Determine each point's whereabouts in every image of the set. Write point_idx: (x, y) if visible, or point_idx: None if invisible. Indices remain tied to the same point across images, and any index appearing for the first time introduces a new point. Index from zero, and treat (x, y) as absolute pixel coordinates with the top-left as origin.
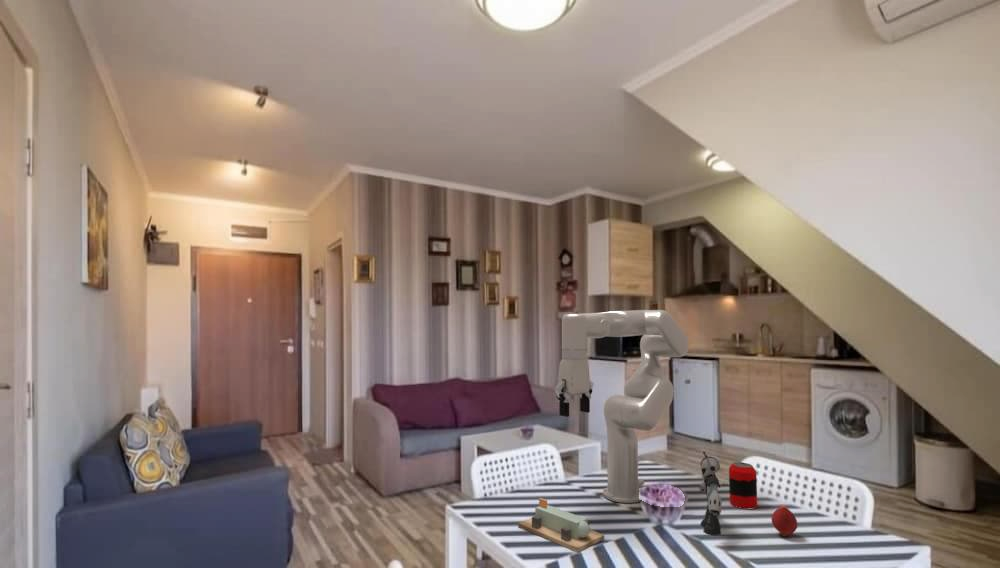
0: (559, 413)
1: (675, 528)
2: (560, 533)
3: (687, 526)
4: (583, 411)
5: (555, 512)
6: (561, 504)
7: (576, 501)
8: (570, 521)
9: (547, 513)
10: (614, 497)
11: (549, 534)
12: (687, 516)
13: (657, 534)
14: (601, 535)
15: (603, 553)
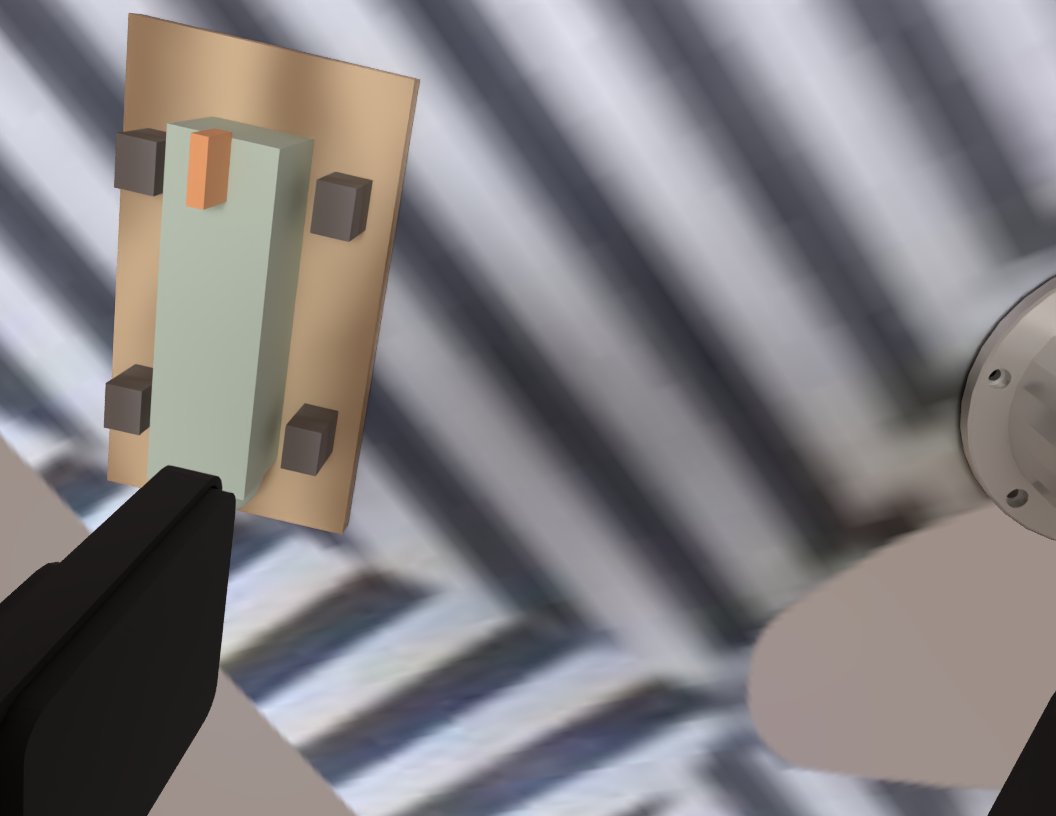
0: (156, 475)
1: (703, 768)
2: None
3: (764, 807)
4: (1018, 767)
5: (194, 294)
6: (708, 66)
7: (835, 140)
8: (152, 430)
9: (163, 243)
10: (984, 394)
11: (133, 283)
12: (916, 789)
13: (573, 715)
14: (324, 526)
15: None
